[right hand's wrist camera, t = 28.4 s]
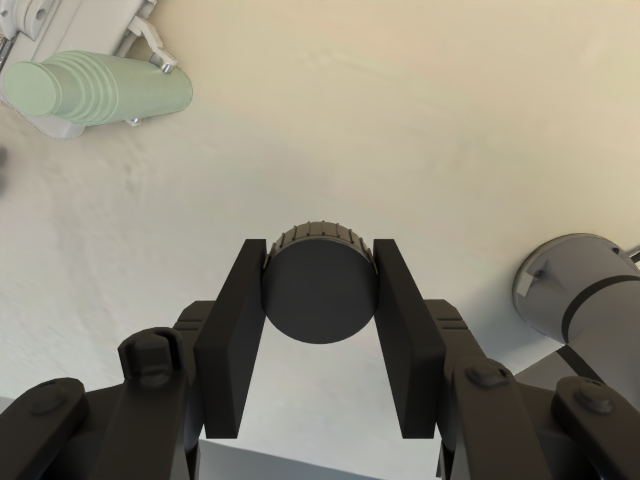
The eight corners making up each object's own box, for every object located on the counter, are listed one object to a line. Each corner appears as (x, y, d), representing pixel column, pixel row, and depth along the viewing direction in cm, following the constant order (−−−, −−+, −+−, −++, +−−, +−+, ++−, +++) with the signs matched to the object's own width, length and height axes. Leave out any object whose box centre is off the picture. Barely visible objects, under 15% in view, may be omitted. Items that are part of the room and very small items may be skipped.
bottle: (139, 77, 43) (-35, 66, 22) (177, 56, 43) (34, 24, 21) (164, 119, 45) (25, 147, 24) (201, 100, 44) (91, 111, 23)
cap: (344, 333, 16) (347, 361, 14) (248, 295, 15) (239, 320, 14) (395, 247, 14) (404, 267, 13) (291, 201, 14) (287, 216, 12)
